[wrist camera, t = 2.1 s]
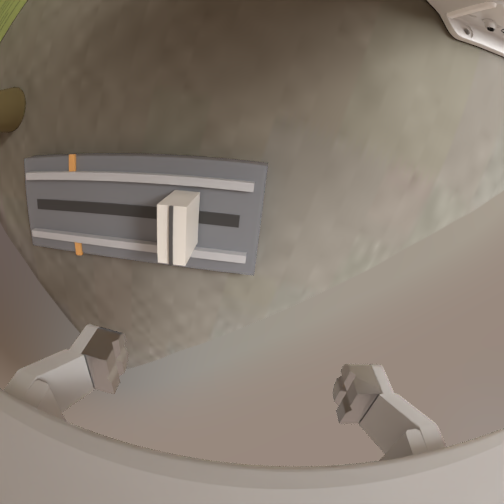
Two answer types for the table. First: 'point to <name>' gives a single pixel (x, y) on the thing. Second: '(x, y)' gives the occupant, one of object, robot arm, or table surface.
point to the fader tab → (177, 227)
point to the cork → (11, 108)
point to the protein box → (9, 14)
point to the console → (146, 205)
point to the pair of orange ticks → (73, 168)
